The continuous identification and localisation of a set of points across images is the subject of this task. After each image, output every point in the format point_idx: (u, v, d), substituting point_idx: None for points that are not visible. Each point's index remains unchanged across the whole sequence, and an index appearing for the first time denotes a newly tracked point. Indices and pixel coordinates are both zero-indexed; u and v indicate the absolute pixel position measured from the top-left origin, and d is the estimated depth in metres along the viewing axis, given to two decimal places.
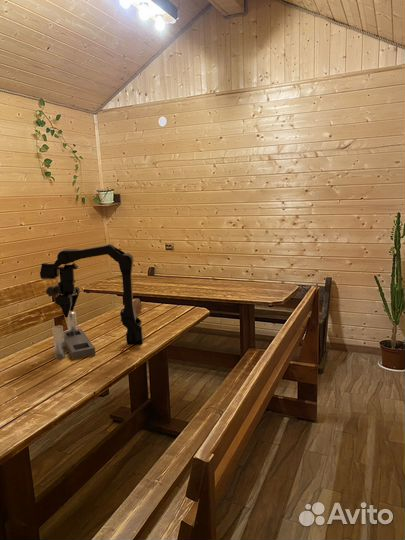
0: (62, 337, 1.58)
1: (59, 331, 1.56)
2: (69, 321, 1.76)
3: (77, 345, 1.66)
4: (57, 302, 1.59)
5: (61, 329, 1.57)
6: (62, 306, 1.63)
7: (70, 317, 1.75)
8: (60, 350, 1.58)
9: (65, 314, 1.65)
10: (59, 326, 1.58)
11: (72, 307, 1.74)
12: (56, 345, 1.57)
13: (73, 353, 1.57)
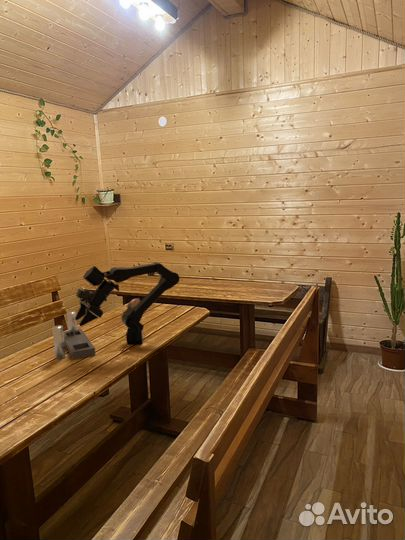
0: (62, 337, 1.58)
1: (59, 331, 1.56)
2: (69, 321, 1.76)
3: (77, 345, 1.66)
4: (91, 310, 1.54)
5: (61, 329, 1.57)
6: (87, 315, 1.56)
7: (70, 317, 1.75)
8: (60, 350, 1.58)
9: (82, 323, 1.57)
10: (59, 326, 1.58)
11: (79, 317, 1.66)
12: (56, 345, 1.57)
13: (73, 353, 1.57)
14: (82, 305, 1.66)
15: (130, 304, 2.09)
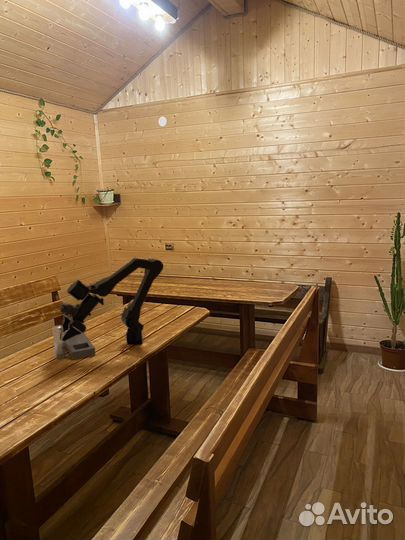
0: (62, 337, 1.58)
1: (59, 331, 1.56)
2: None
3: (77, 345, 1.66)
4: (74, 325, 1.51)
5: (61, 329, 1.57)
6: (70, 330, 1.54)
7: None
8: (60, 350, 1.58)
9: (65, 338, 1.55)
10: (59, 326, 1.58)
11: None
12: (56, 345, 1.57)
13: (73, 353, 1.57)
14: (66, 319, 1.64)
15: (130, 304, 2.09)
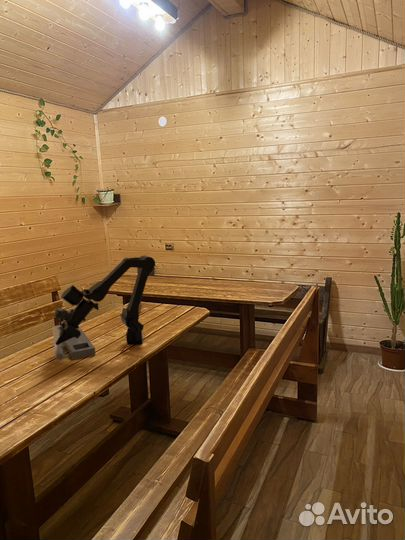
0: None
1: (59, 331, 1.56)
2: None
3: (77, 345, 1.66)
4: (68, 331, 1.51)
5: (61, 329, 1.57)
6: (63, 334, 1.55)
7: None
8: (60, 350, 1.57)
9: (58, 341, 1.56)
10: (59, 326, 1.58)
11: None
12: (56, 345, 1.57)
13: (73, 353, 1.57)
14: None
15: None
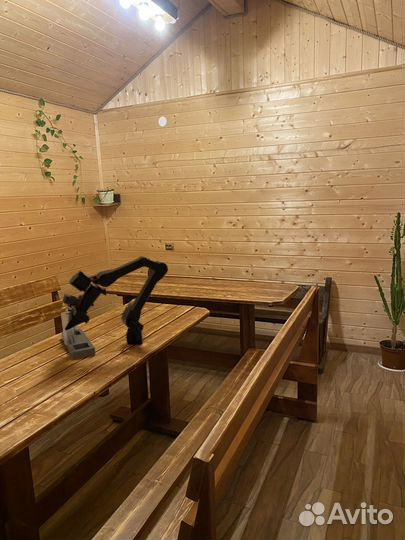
0: None
1: (68, 316, 1.57)
2: None
3: (77, 345, 1.66)
4: (77, 316, 1.51)
5: (70, 315, 1.58)
6: (72, 319, 1.56)
7: None
8: (69, 335, 1.58)
9: (67, 327, 1.57)
10: (68, 312, 1.59)
11: None
12: (65, 331, 1.58)
13: (73, 353, 1.57)
14: None
15: (130, 304, 2.09)
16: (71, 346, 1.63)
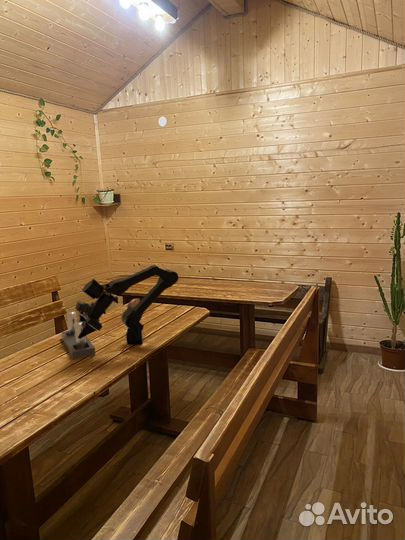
0: None
1: (81, 327, 1.60)
2: (69, 321, 1.76)
3: None
4: (90, 323, 1.54)
5: (83, 325, 1.61)
6: (86, 327, 1.58)
7: (69, 317, 1.75)
8: (82, 346, 1.61)
9: (81, 335, 1.58)
10: (81, 322, 1.62)
11: None
12: (78, 341, 1.61)
13: (73, 353, 1.57)
14: (81, 318, 1.66)
15: (130, 304, 2.09)
16: (71, 346, 1.63)
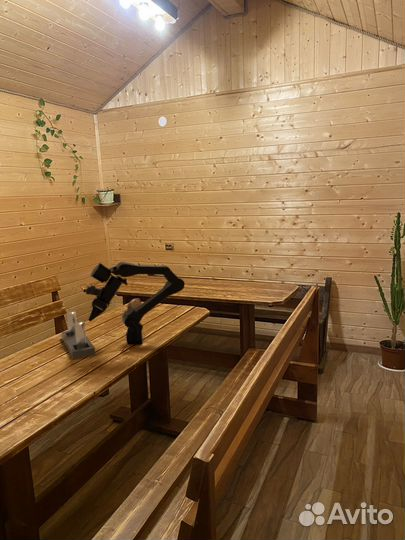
0: (84, 333, 1.62)
1: (81, 327, 1.60)
2: (69, 321, 1.76)
3: None
4: (94, 303, 1.56)
5: (83, 325, 1.61)
6: (94, 309, 1.60)
7: (70, 317, 1.75)
8: (82, 346, 1.61)
9: (90, 318, 1.60)
10: (81, 322, 1.62)
11: None
12: (78, 341, 1.61)
13: (73, 353, 1.57)
14: None
15: (130, 304, 2.09)
16: (71, 346, 1.63)
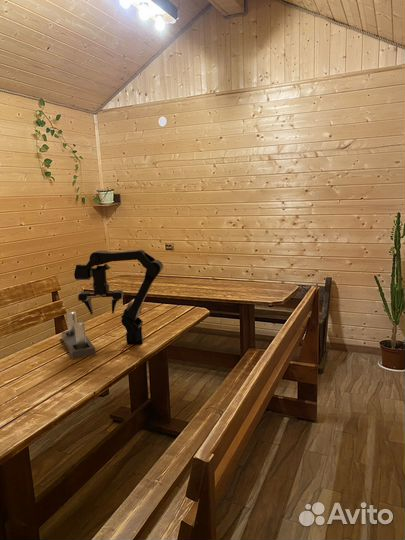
0: (84, 333, 1.62)
1: (81, 327, 1.60)
2: (69, 321, 1.76)
3: None
4: None
5: (83, 325, 1.61)
6: None
7: (69, 317, 1.75)
8: (82, 346, 1.61)
9: None
10: (81, 322, 1.62)
11: (112, 310, 1.73)
12: (78, 341, 1.61)
13: (73, 353, 1.57)
14: None
15: (130, 304, 2.09)
16: (71, 346, 1.63)
